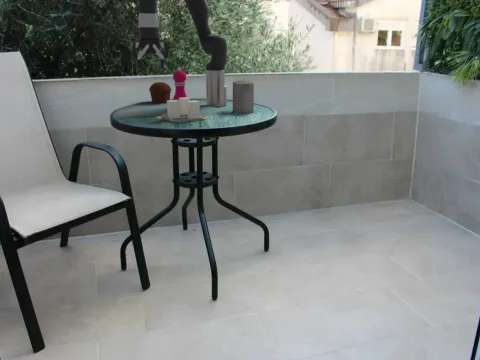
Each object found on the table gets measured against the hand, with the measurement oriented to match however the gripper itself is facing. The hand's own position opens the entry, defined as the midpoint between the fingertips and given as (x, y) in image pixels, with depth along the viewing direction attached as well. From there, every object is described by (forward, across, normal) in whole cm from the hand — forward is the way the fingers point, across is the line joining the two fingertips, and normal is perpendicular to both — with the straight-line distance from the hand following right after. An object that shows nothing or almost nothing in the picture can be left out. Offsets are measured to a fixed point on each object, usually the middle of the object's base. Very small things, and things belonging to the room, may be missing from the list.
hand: (150, 69), depth 182 cm
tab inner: (+20, -15, -4) cm, 25 cm away
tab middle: (+20, -8, +1) cm, 22 cm away
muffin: (+21, -16, -48) cm, 55 cm away
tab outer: (+20, -16, +6) cm, 26 cm away
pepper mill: (+21, -18, -18) cm, 33 cm away
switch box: (+21, -12, +1) cm, 24 cm away
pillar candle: (+21, -44, -8) cm, 50 cm away
